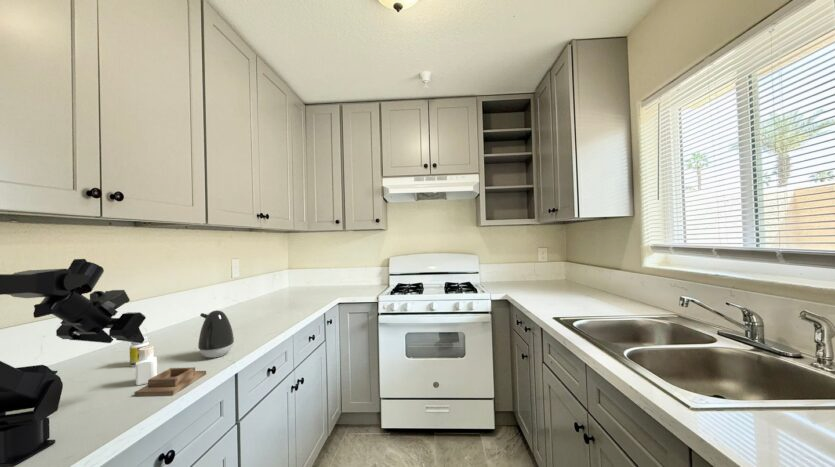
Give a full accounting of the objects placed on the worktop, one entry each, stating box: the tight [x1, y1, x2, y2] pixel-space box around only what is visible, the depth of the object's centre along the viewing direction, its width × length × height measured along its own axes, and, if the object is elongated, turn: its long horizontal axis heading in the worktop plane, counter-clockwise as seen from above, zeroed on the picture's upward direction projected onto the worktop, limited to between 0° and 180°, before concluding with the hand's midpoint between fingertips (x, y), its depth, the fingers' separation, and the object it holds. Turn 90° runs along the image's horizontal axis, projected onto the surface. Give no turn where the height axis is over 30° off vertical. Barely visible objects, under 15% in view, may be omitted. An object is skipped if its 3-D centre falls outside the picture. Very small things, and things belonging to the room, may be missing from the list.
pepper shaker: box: [135, 345, 158, 386], centre depth 87 cm, size 4×4×10 cm
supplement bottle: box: [129, 335, 150, 368], centre depth 100 cm, size 5×5×8 cm
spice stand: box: [134, 367, 207, 397], centre depth 85 cm, size 12×10×3 cm
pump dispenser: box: [198, 309, 235, 359], centre depth 106 cm, size 10×10×15 cm
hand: (127, 341), depth 82 cm, fingers open, 9 cm apart
